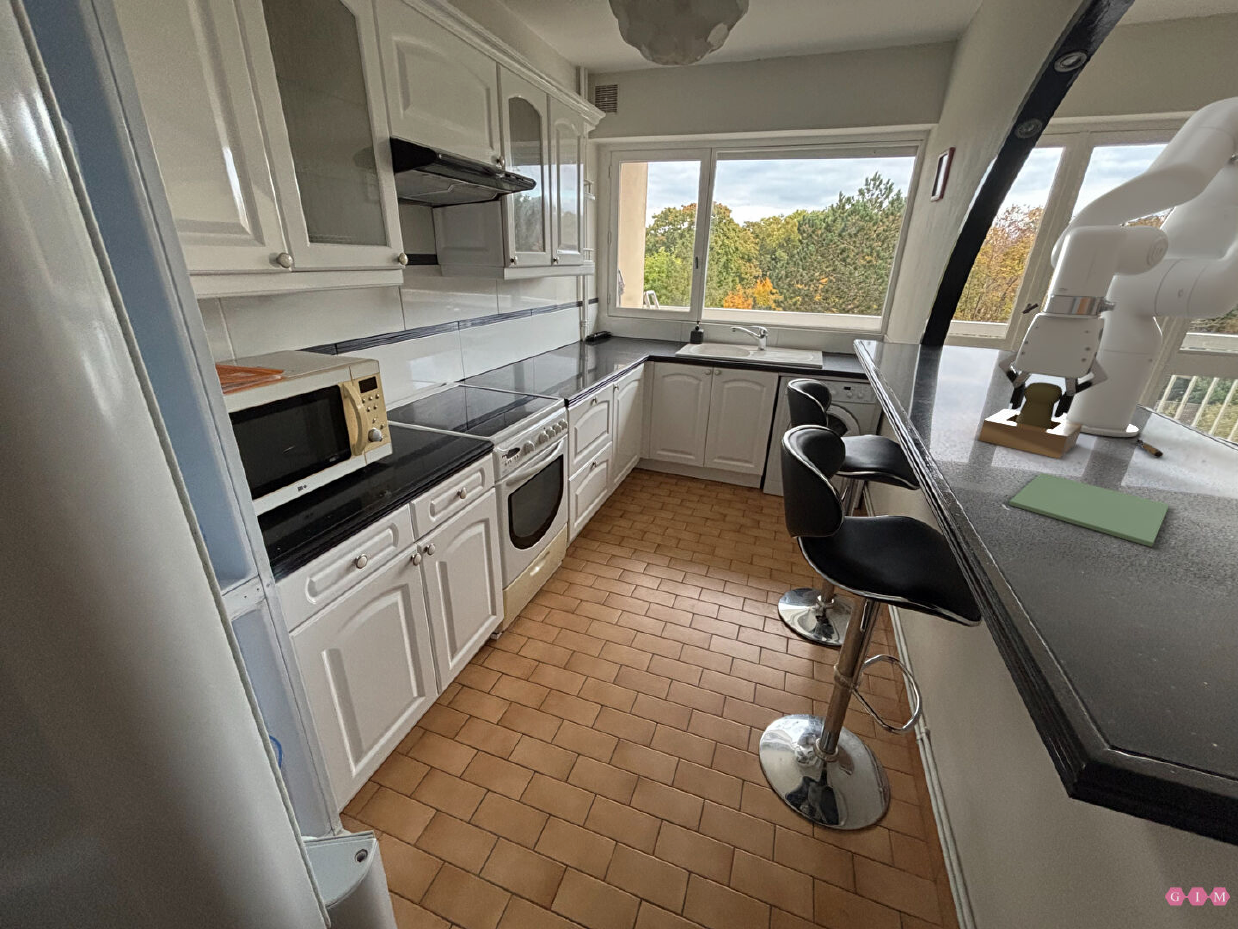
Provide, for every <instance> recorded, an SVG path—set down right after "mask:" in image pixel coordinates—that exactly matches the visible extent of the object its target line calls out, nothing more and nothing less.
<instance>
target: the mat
mask: <svg viewBox="0 0 1238 929" xmlns="http://www.w3.org/2000/svg"><path fill="white" fill-rule="evenodd" d="M1008 505H1009V506H1013V507H1015V508H1019V509H1023V510H1026V511H1028V512H1032V513H1036V514H1039V515H1041V516H1046V517H1049V518H1053V519H1056V520H1059V521H1062V522H1065V523H1070V524H1073V525H1077V526H1079V527H1083V528H1085V529H1086V528H1087V529H1090V530H1092V531H1097V532H1099V533H1103V534H1106V535H1110V536H1113V537H1116V538H1120V539H1123V540H1127V541H1129V542H1133V543H1137V544H1140V545H1143V546H1147V547H1150V548H1151V547H1153V545H1154V543H1155V541H1156V538H1157V536H1158V533H1159V531H1160V528H1161V527H1162V524H1163V521H1164V519H1165V517H1166V515H1167V512H1168V511H1169V508H1170V504H1168V503H1164V502H1160V501H1156V500H1152V499H1149V498H1144V497H1140V496H1136V495H1132V494H1128V493H1124V492H1120V491H1117V490H1112V489H1109V488H1106V487H1105V488H1104V487H1101V486H1098V485H1092V484H1088V483H1084V482H1080V481H1076V480H1072V479H1069V478H1064V477H1060V476H1058V475H1057V476H1056V475H1052V474H1049V473H1044V472H1041V473H1039V474H1038V475H1037V476H1036V477H1035V478H1034V479H1032V480H1031V482H1030V483H1028V484H1027V485H1026V486H1024V488H1022V489H1021V490H1020V491H1019V492H1018V493H1017V494H1016V495H1015V496H1014V497H1012V499H1010V500H1009V502H1008Z"/></svg>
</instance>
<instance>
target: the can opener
mask: <svg viewBox="0 0 1238 929" xmlns="http://www.w3.org/2000/svg"><path fill="white" fill-rule="evenodd" d="M1134 443H1135V444H1137V445H1141V447H1142V449H1144V450H1145V451H1147V452H1148V453H1149V454H1150V455H1151V456H1153V457H1155V458H1161V457H1163V455H1164V454H1163V452H1162V451H1161V450H1160V449H1158V448H1157V447H1154V446H1152V445H1151V444H1149V443H1147V442H1145V441H1144V440H1143V439H1141V438H1137V439H1136V441H1134Z"/></svg>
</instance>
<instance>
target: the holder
mask: <svg viewBox="0 0 1238 929" xmlns="http://www.w3.org/2000/svg"><path fill="white" fill-rule="evenodd" d="M1019 413H1020V411H1018V410H1013V409H1006V408H1004V409H1002V410H1000V411H998V412H997V413H994V414H992V415H991V416H989V417H986V418H985V419H983V421H982V426H981V428H980V432H979V433H980V434H979V436H978V439H977V441H980V442H983V443H984V442H985V443H988V444H994V445H996V446H997V445H998V446H1000V447H1006V448H1011V449H1015V450H1019V451H1023V452H1028V453H1032V454H1037V455H1041V456H1046V457H1049V458H1054V459H1058V460H1059V459H1061V458H1062V457H1063V456H1064V455H1066V453H1067V452H1069V451H1070V450H1071V448H1073V447H1074V446H1075V445H1076V444H1077V441H1078V438H1079V436H1080V434H1081V432H1080V431H1081V428H1082V426H1083V423H1078V422H1072V421H1067V420H1061V419H1056V418H1055V417H1052V421H1051V426H1050V429H1045V428H1040V427H1035V426H1030V425H1025V424H1020V423H1015V421H1016V419H1017V417H1018V415H1019Z"/></svg>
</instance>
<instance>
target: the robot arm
mask: <svg viewBox="0 0 1238 929" xmlns="http://www.w3.org/2000/svg"><path fill="white" fill-rule="evenodd" d="M1237 161H1238V96H1234V97H1228V98H1224V99H1221V100H1218V101H1214V102H1211V103H1210V104H1208V105H1205V106H1203V107H1202V108H1200V109H1199V110H1197V111H1196V112H1194V113H1193V114H1192V115H1191V117H1189V118H1188V120H1187V121H1186V122H1185V123H1184V124H1183V125H1182V126H1181V128H1180V129H1179V130H1178V131H1177V133H1176V134H1175V135H1174V136H1173V138H1172V139H1171V140H1170V141H1169V143H1168V144H1167V145H1166V146H1165V147H1164V149H1163V150H1162V151H1161V153H1159V154H1158V156H1157V157H1156V158H1155V160H1153V162H1152V164H1150V165H1149V167H1148V168H1147V169H1146V170H1145V171H1144V172H1143V173H1141V174H1138V175H1137V176H1134V177H1133V178H1130V179H1128V180H1127V181H1125V182H1123V183H1121V184H1119V185H1118V186H1115V187H1114V188H1113V189H1111V190H1110V191H1107V192H1105V193H1104V194H1102V195H1100V196H1099V197H1097V198H1095V199H1094V200H1093V201H1091V202H1089V203H1088V204H1087V205H1086V206H1084V207H1083V208H1082V209H1081V210H1080V211H1079V212H1077V215H1075V217H1074V218H1073V219H1072V220H1071V221H1070V223H1069V224H1068V225H1067V226H1066V228H1065V229H1064V230H1063V231H1062V232H1061V234H1060V236H1059V238H1057V240H1056V242H1055V244H1054V246H1053V249H1052V251H1051V254H1050V264H1051V266H1052V268H1053V269H1054V271H1053V275H1052V278H1051V280H1050V284H1049V288H1048V291H1047V294H1046V296H1045V299H1044V303H1043V306H1042V309H1041V312H1040V313H1036V314H1035V316H1034V317H1033V319H1032V321H1031V323H1030V325H1029V327H1028V329H1027V331H1026V333H1025V335H1024V338H1023V340H1022V342H1021V345H1020V347H1019V350H1017V351H1016V352H1015V353H1012V354H1011V355H1010V356H1008V357H1006V358H1005V359H1003V360H1002V361H1001V362H999V363H998V367H999V369H1000V370H1001V371H1002V373H1004V374H1005V376H1006V377H1007V379H1008V380H1009V382H1010V383H1011V384H1012V385H1011V386H1012V387H1013V390H1012V393H1011V396H1010V399H1009V404H1011V409H1010V410H1013V411H1016V410H1018V409H1020V408H1022V404H1023V401H1024V398H1025V397H1024V392H1025V389H1026V387H1027V386H1026V385H1027V381H1028V380H1029V379H1030V377H1031V376H1032V375H1033V374H1035V375H1041V376H1046V377H1047V376H1048V377H1055V378H1061V379H1063V378H1064V383H1065V391H1064V393H1062V395H1061V397H1060V400H1059V401H1058V402H1057V405H1056V409H1055V412H1054V413H1053V414H1054V415H1053V417H1054V418H1056V419H1061V420H1067V421H1072V422H1078V423H1083V426H1082V428H1081V431H1080V433H1085V434H1090V435H1096V436H1103V437H1113V438H1132V437H1135V436H1137V435H1138V432H1139V430H1140V429H1139V428H1138V427H1136V426H1135V425H1133V424H1131V421H1132V420H1133V416H1134V414H1135V411H1136V409H1137V407H1138V405H1139V402H1140V400H1141V397H1142V395H1143V392H1144V390H1145V387H1146V385H1147V382H1148V381H1149V378H1150V376H1151V372H1152V370H1153V368H1154V365H1155V363H1156V360H1157V358H1158V356H1159V353H1160V351H1161V350H1162V349H1161V348H1162V346H1163V342H1164V340H1163V339H1164V338H1163V333H1162V329H1161V328H1160V326H1159V324H1158V322H1157V320H1156V318H1155V317H1168V318H1180V319H1181V318H1182V319H1196V320H1212V319H1213V320H1214V319H1217V318H1220V317H1223V316H1225V315H1227V314H1228V313H1230V312H1231V311H1232V310H1233V309H1235V307H1236V306H1237V305H1238V165H1237ZM1171 209H1172V211H1171V212H1170V214H1168V216H1167V218H1166V219H1165V220H1164V222H1162V224H1161V226H1160V227H1156V226H1152V225H1129V226H1128V225H1127V226H1121V225H1122V224H1125V223H1128V222H1130V221H1134V220H1137V219H1141V218H1144V217H1147V216H1151V215H1154V214H1158V213H1161V212H1165V211H1167V210H1171ZM1013 364H1014V367H1015V369H1016V370H1015V369H1014V367H1013ZM1017 371H1020V373H1018V372H1017Z"/></svg>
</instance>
